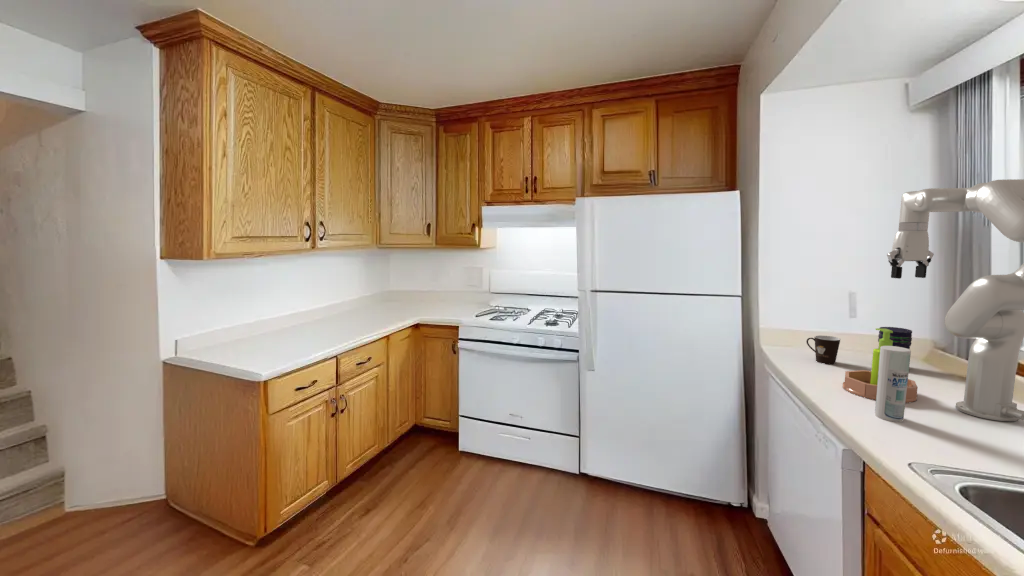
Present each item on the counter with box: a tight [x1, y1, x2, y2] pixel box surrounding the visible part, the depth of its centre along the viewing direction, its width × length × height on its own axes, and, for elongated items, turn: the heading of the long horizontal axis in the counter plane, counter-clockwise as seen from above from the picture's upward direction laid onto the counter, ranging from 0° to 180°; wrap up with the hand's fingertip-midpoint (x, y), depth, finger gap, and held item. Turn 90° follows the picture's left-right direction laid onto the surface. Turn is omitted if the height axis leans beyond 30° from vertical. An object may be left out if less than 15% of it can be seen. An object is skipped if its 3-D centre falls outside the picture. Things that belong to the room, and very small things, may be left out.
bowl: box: [842, 369, 918, 404], centre depth 148 cm, size 19×19×4 cm
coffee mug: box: [806, 335, 841, 365], centre depth 184 cm, size 12×9×10 cm
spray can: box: [874, 346, 912, 423], centre depth 127 cm, size 6×6×20 cm
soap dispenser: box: [870, 327, 893, 385], centre depth 147 cm, size 6×7×20 cm
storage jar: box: [877, 326, 913, 350], centre depth 174 cm, size 10×10×15 cm
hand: (908, 277), depth 156 cm, fingers open, 9 cm apart
